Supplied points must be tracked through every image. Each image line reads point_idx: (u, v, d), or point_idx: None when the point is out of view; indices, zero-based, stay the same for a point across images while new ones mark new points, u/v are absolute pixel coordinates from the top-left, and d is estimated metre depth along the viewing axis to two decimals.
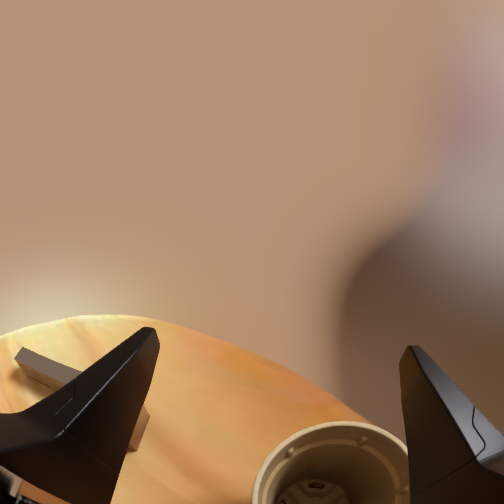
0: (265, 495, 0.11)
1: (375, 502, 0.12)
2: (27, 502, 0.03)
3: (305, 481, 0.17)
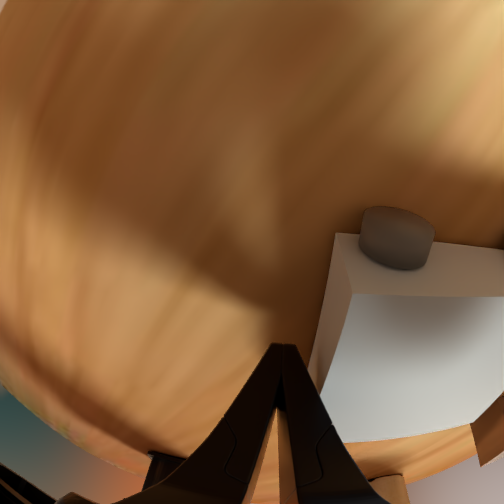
0: None
1: None
2: None
3: None
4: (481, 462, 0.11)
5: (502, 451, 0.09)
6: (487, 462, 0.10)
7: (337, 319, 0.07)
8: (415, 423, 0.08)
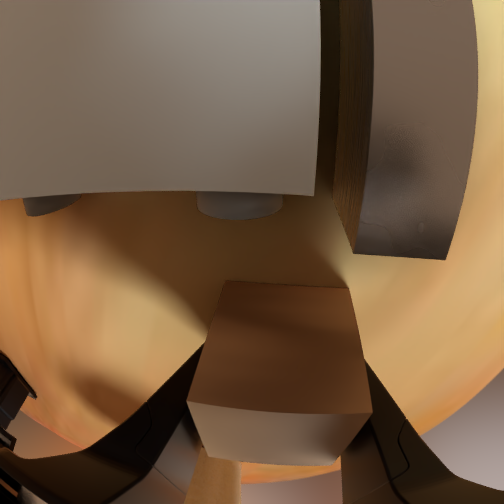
0: None
1: None
2: None
3: None
4: None
5: (200, 422, 0.06)
6: (211, 449, 0.07)
7: None
8: (70, 123, 0.04)
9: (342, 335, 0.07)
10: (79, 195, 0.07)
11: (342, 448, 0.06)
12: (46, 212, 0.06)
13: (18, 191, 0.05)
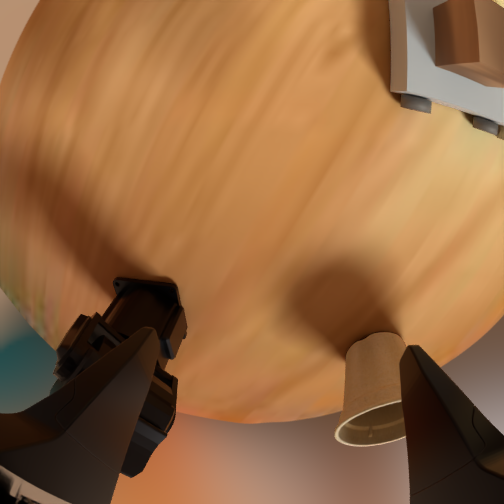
0: None
1: None
2: (27, 502, 0.03)
3: None
4: (475, 57, 0.07)
5: (476, 11, 0.05)
6: (481, 48, 0.06)
7: None
8: (471, 88, 0.11)
9: None
10: (425, 111, 0.14)
11: None
12: (428, 112, 0.13)
13: (442, 97, 0.11)
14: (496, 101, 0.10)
